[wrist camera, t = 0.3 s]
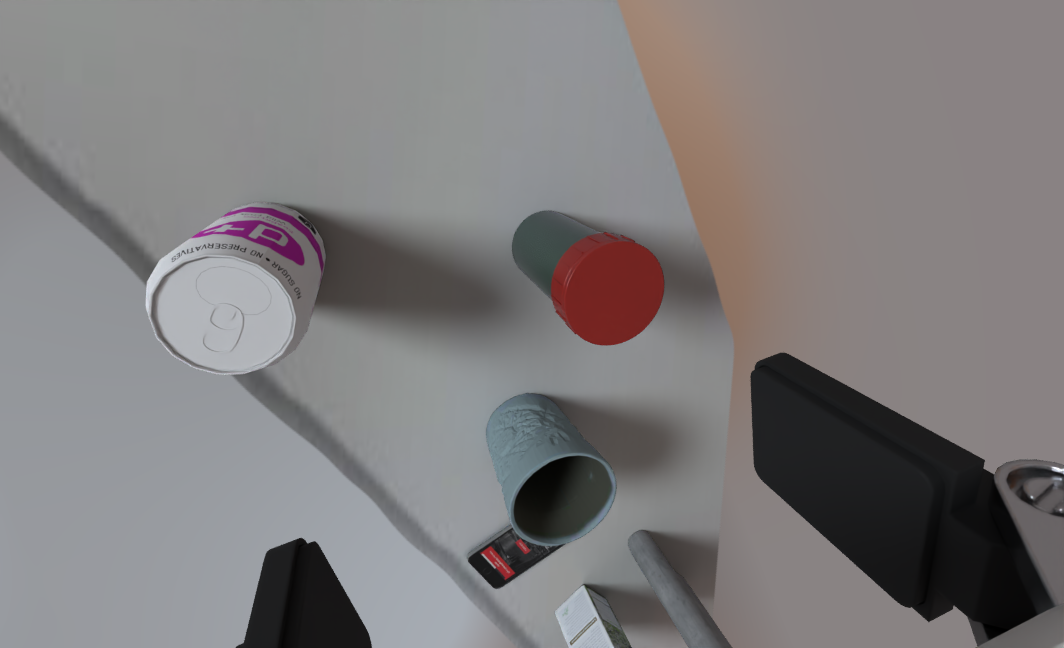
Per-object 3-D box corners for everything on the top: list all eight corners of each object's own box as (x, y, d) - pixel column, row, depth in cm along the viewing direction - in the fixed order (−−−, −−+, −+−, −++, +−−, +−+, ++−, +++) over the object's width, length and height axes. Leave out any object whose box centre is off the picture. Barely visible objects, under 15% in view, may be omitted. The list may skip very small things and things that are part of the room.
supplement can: (230, 182, 38) (157, 217, 24) (340, 226, 41) (328, 278, 28) (199, 278, 39) (114, 359, 26) (307, 313, 43) (281, 400, 30)
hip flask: (688, 582, 73) (790, 731, 55) (665, 599, 73) (761, 753, 55) (643, 526, 66) (745, 676, 48) (618, 544, 66) (711, 702, 48)
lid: (528, 293, 35) (541, 307, 32) (600, 209, 34) (618, 216, 32) (597, 349, 38) (613, 365, 36) (663, 273, 38) (684, 284, 35)
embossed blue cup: (471, 402, 51) (499, 477, 40) (563, 374, 53) (612, 438, 42) (490, 477, 55) (520, 563, 45) (574, 448, 57) (622, 523, 47)
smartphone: (465, 559, 57) (573, 486, 58) (464, 554, 58) (571, 482, 59) (496, 591, 61) (598, 521, 62) (495, 586, 61) (595, 517, 62)
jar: (497, 251, 46) (548, 302, 33) (543, 195, 45) (613, 225, 33) (547, 292, 49) (610, 353, 36) (591, 240, 48) (671, 284, 36)
